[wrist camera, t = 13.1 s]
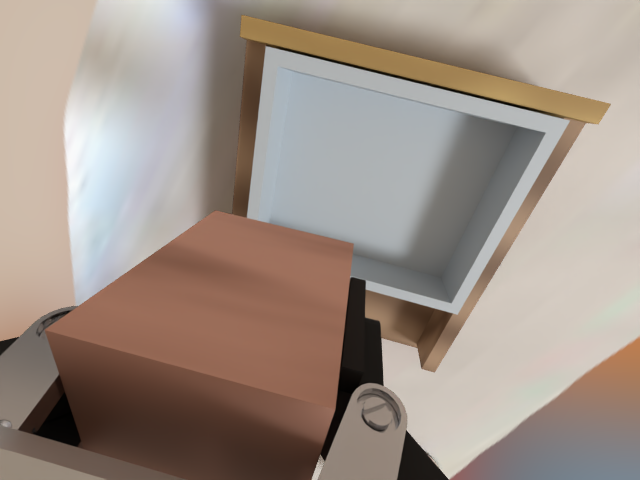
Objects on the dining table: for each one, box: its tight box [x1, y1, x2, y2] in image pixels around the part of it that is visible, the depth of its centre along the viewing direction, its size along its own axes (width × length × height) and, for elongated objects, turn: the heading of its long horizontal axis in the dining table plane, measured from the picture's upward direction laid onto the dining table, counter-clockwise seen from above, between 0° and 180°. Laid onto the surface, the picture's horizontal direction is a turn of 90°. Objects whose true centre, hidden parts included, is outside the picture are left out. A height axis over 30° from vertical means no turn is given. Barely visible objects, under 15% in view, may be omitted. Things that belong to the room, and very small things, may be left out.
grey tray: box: [247, 46, 570, 315], centre depth 20 cm, size 14×17×4 cm
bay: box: [232, 15, 611, 372], centre depth 23 cm, size 23×20×5 cm
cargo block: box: [45, 210, 354, 480], centre depth 8 cm, size 5×5×6 cm
